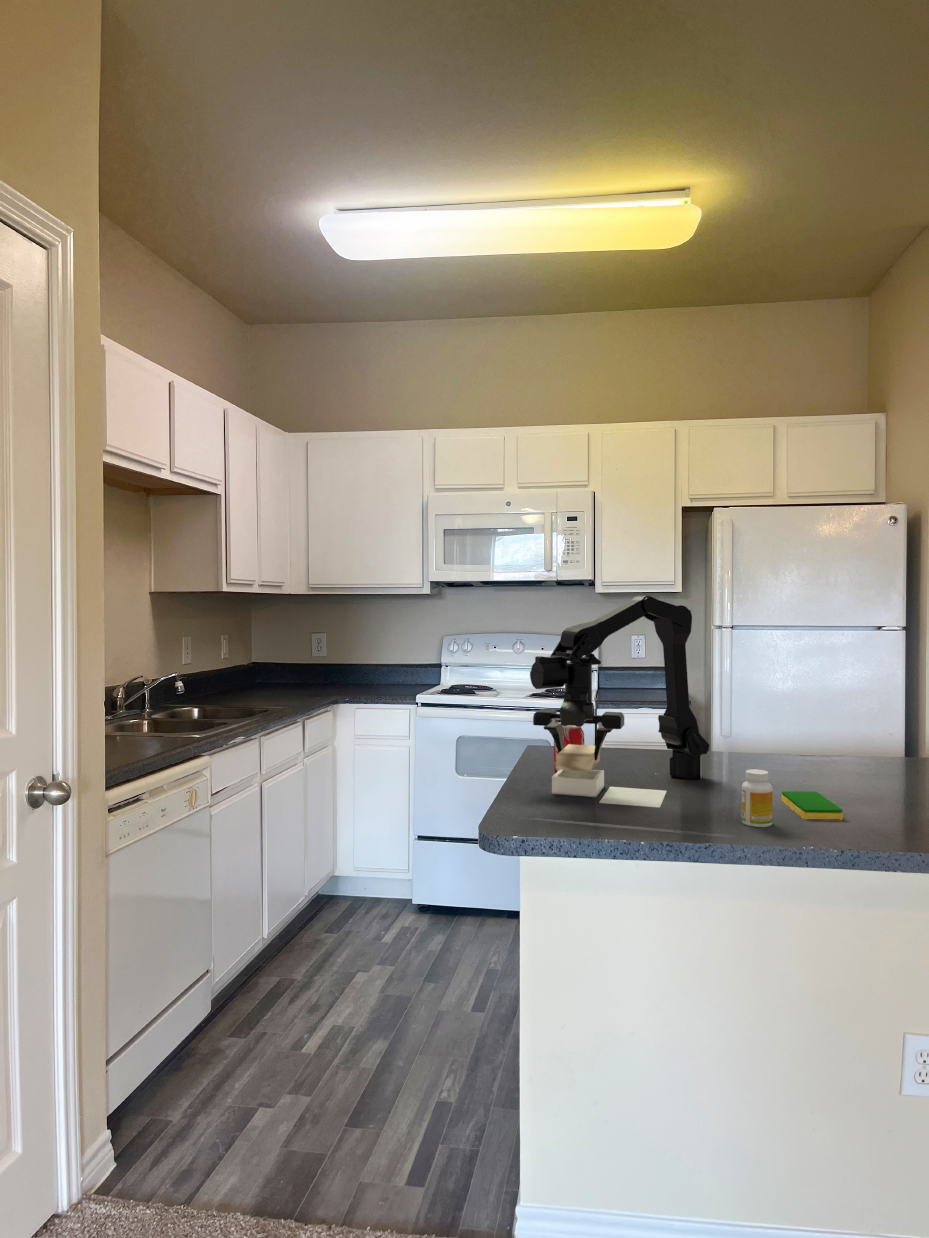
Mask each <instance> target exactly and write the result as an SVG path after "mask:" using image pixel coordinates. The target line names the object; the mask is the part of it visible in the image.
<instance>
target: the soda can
mask: <svg viewBox="0 0 929 1238" xmlns="http://www.w3.org/2000/svg"><path fill="white" fill-rule="evenodd" d="M562 728H563V745H564V748H565V747H566V746H567V745H568V744H571V745H585V732H584V730H583V728H582V726H579V727H577V726H574V725H567V726H562ZM558 753H559V752H558V749H557V747H556V744H555V741H554V740H553V770H554V775H555V774H556V773H557V772H558V771H559V770H560V769H556V755H557V754H558Z"/></svg>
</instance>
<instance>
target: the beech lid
mask: <svg viewBox="0 0 929 1238" xmlns="http://www.w3.org/2000/svg"><path fill="white" fill-rule="evenodd" d="M594 752H595V745H589V744H588V745H586V744H584V745H571V744H568V745H567V746H566V747H565V748H564V749H563V750H561V751H560V752H559V753H558V754H557V755H556V769H560V770H575V771H591V770H593V769H594V768H595V766H596V765H597V764H598V763H599V762H600V760H601V752H600V753H599V756H598V759H597V760H595V756H594Z"/></svg>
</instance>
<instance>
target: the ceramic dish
mask: <svg viewBox="0 0 929 1238" xmlns="http://www.w3.org/2000/svg"><path fill="white" fill-rule="evenodd" d="M604 787H605V770H601V769H591V771H575V770H559V771H558V772H557V773H556V774H555V773H554V774H553V775H552V776H551V795H560V796H561V795H565V796H575V797H576V796H577V797H578V796H579V797H588V798H589V797H591V798H598V796H599V794H600V793H601V791H602V790H604Z"/></svg>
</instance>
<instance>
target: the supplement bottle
mask: <svg viewBox="0 0 929 1238" xmlns="http://www.w3.org/2000/svg"><path fill="white" fill-rule="evenodd" d="M769 777H770V776H769V772H768V771H767V770H764V769H753V768H752V769H751V768H750V769H746V771H745V779H746V780H745V781H744V782H743V783H742V785H741V823H743V825H745V826H748V827H755V828H766V827H771V826H772V824H773V794H774V793H773V792H774V791H773V786H772V785H771V783H769V782H768V781H769Z"/></svg>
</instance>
